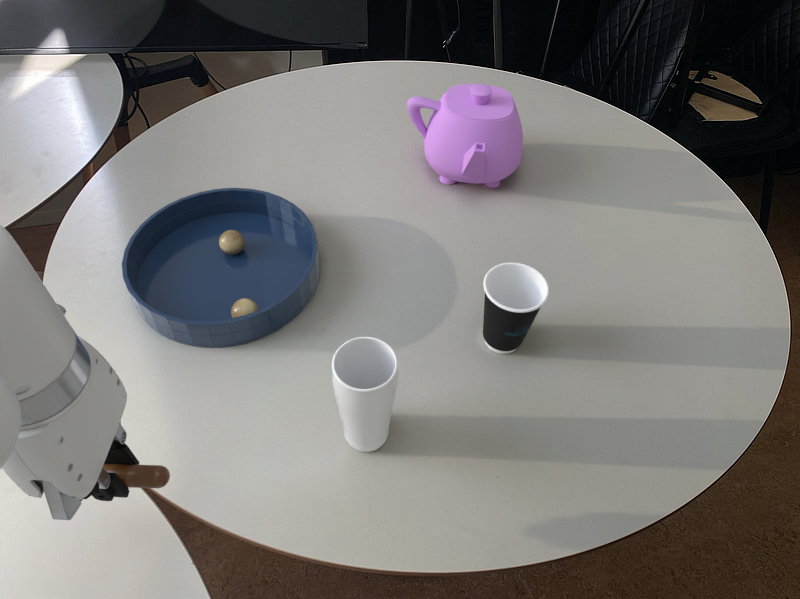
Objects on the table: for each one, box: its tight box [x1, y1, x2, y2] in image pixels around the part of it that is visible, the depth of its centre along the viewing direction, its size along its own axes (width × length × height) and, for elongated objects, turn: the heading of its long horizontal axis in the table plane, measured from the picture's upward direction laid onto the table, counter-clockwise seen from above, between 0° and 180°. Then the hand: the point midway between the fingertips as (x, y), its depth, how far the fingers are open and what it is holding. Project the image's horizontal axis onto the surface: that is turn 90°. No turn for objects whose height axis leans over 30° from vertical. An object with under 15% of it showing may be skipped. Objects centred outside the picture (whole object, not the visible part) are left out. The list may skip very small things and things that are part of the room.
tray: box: [121, 187, 321, 348], centre depth 85 cm, size 26×26×5 cm
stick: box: [103, 464, 171, 489], centre depth 55 cm, size 2×9×2 cm, turn 88°
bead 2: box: [231, 298, 259, 318], centre depth 79 cm, size 4×4×4 cm
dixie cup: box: [482, 261, 550, 355], centre depth 76 cm, size 8×8×11 cm
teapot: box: [406, 83, 524, 189], centre depth 97 cm, size 20×20×15 cm
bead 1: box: [219, 230, 245, 255], centre depth 87 cm, size 4×4×4 cm
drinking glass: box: [331, 336, 399, 453], centre depth 65 cm, size 7×7×15 cm
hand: (117, 478), depth 55 cm, fingers closed on stick, 2 cm apart
